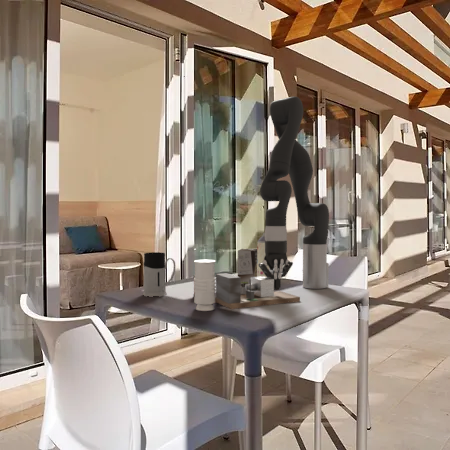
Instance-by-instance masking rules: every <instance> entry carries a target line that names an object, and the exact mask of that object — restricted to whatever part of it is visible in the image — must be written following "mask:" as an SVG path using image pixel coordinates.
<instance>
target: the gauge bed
mask: <svg viewBox="0 0 450 450" xmlns="http://www.w3.org/2000/svg"><path fill="white" fill-rule="evenodd" d="M215 278H216V280H215V282H216V284H215V286H216V288H215V289H216V291H215V300H216V302H215V303H217V304H219V305H221V306H223V307H226V308H227V309H229V310H233V309H242V308H243V309H244V308H252V307H253V308H254V307H260V306H271V305H278V304H279V305H280V304H288V303H297V302H301V296H297V295H295V294H291V293H288V292H284V291H281V290H275V291H274V296H267V297H259V296H256V295H254V299H249V298H246V294H241V277H238V275H235V274H231V273H224V272H223V273H215Z"/></svg>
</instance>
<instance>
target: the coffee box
mask: <svg viewBox="0 0 450 450" xmlns="http://www.w3.org/2000/svg"><path fill="white" fill-rule="evenodd" d="M237 276H238V277H241V295H245V294H246V290H245V284H250V279H251V277H257V248H241V249H238V250H237Z"/></svg>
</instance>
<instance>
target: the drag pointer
mask: <svg viewBox="0 0 450 450" xmlns="http://www.w3.org/2000/svg"><path fill="white" fill-rule="evenodd" d="M246 298H249V299H254V291H251V279H250V290H246Z"/></svg>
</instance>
